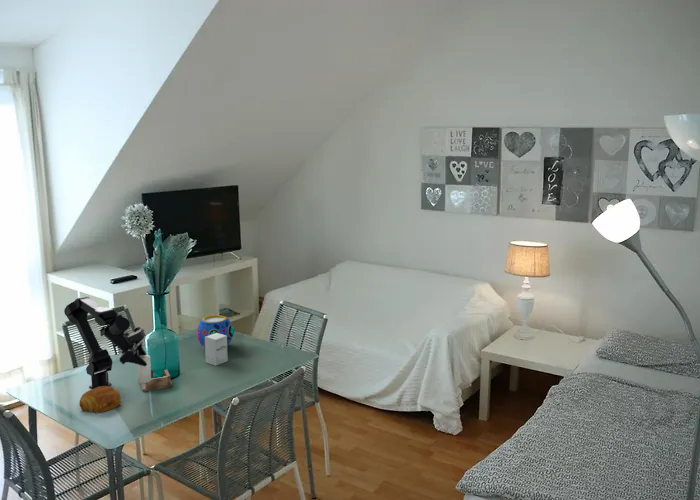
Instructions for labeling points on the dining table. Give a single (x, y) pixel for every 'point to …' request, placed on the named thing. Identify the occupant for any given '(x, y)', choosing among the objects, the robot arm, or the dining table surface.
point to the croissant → (100, 399)
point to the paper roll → (144, 370)
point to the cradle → (157, 382)
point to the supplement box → (216, 349)
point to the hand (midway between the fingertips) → (147, 362)
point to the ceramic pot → (214, 328)
